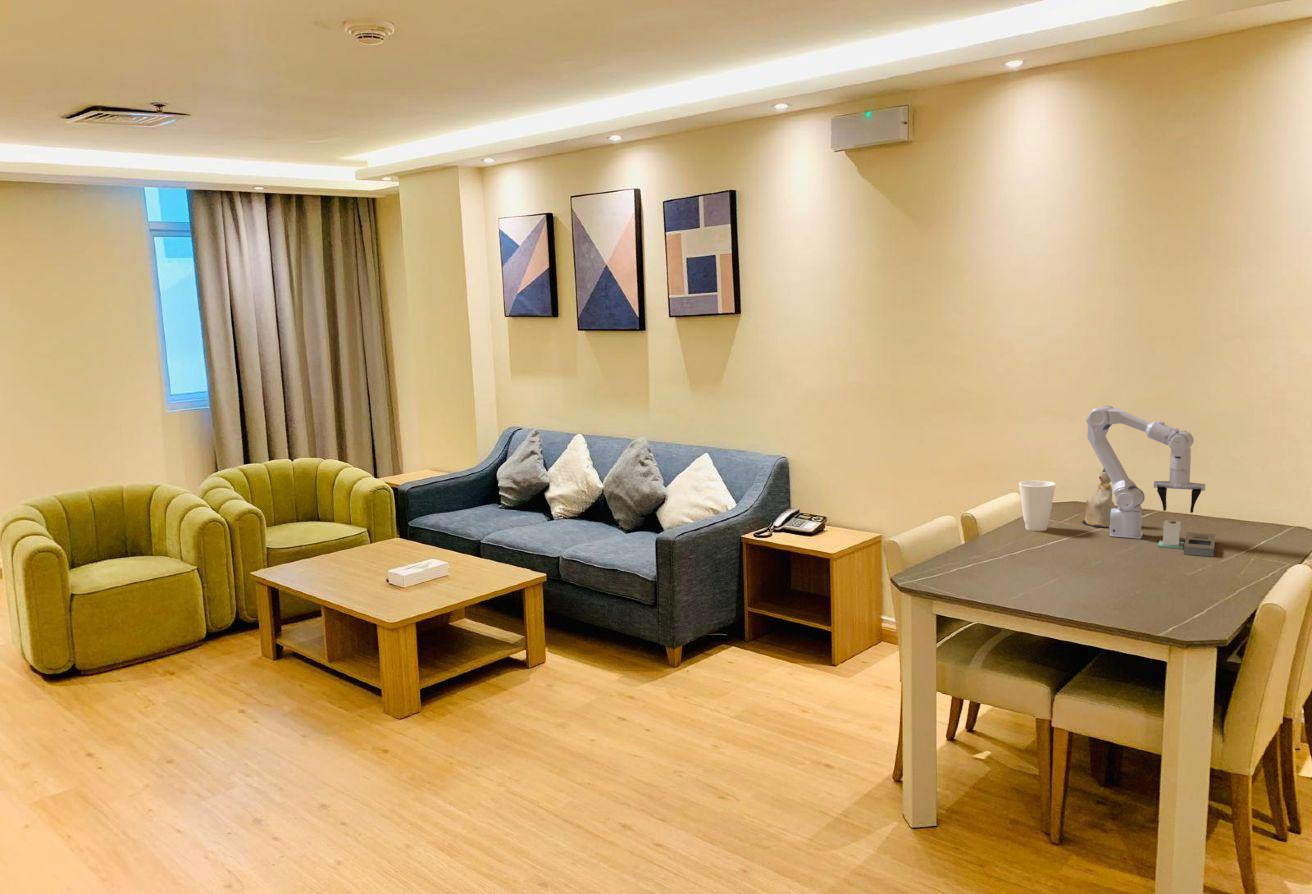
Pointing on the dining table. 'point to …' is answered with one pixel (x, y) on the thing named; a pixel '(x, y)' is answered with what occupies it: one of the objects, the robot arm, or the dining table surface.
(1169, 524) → the cube with screw head
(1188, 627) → the dining table surface
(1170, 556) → the dining table surface
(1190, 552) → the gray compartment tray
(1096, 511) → the figurine
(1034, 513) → the cup
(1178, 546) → the mat
